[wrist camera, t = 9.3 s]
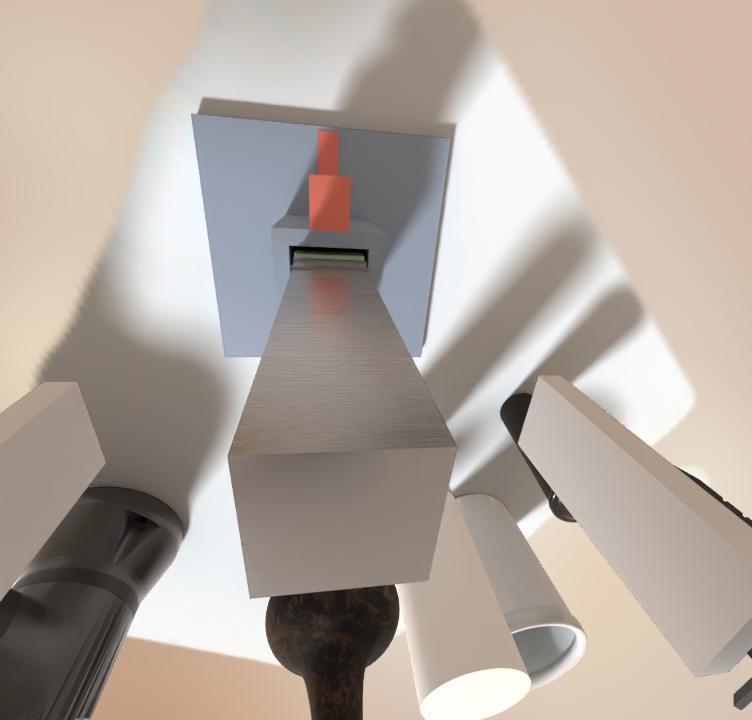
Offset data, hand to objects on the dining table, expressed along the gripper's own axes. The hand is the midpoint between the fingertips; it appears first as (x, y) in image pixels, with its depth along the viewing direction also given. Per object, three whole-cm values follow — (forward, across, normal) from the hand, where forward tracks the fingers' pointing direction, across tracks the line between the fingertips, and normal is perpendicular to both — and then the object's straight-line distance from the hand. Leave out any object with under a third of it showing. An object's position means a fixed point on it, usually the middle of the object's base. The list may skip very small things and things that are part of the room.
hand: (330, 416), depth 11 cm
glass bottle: (+26, +1, -46) cm, 52 cm away
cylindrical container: (+26, +9, -22) cm, 35 cm away
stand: (+25, 0, 0) cm, 25 cm away
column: (+18, 0, 0) cm, 18 cm away
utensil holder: (+26, +21, -39) cm, 51 cm away
